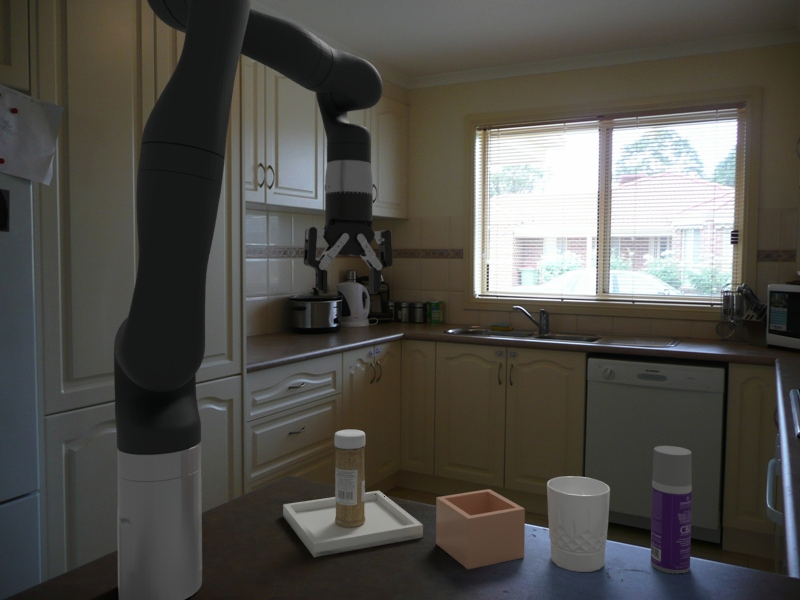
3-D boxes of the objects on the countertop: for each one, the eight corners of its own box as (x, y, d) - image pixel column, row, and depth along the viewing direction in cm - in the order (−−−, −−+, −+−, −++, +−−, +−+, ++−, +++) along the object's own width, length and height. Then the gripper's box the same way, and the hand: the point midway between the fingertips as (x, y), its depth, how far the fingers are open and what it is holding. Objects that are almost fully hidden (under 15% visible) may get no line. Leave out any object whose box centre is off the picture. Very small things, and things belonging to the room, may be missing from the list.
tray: (314, 557, 85) (314, 543, 85) (283, 516, 100) (283, 504, 100) (422, 537, 92) (422, 524, 92) (379, 501, 106) (379, 490, 106)
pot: (467, 569, 82) (468, 518, 82) (436, 543, 90) (436, 497, 89) (524, 557, 85) (524, 508, 85) (488, 533, 93) (489, 489, 93)
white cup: (596, 581, 79) (597, 500, 79) (536, 563, 84) (536, 487, 83) (617, 558, 85) (618, 483, 85) (560, 543, 90) (561, 472, 90)
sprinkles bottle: (371, 520, 96) (371, 431, 96) (351, 530, 93) (351, 437, 92) (348, 514, 99) (348, 426, 98) (327, 523, 95) (327, 432, 95)
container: (686, 577, 80) (689, 457, 79) (646, 568, 83) (649, 451, 82) (692, 563, 84) (695, 449, 83) (654, 554, 86) (657, 443, 86)
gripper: (312, 186, 97) (312, 295, 98) (399, 192, 103) (398, 294, 103) (298, 192, 104) (299, 293, 104) (380, 197, 110) (380, 293, 110)
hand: (348, 293), depth 104 cm, fingers open, 8 cm apart
